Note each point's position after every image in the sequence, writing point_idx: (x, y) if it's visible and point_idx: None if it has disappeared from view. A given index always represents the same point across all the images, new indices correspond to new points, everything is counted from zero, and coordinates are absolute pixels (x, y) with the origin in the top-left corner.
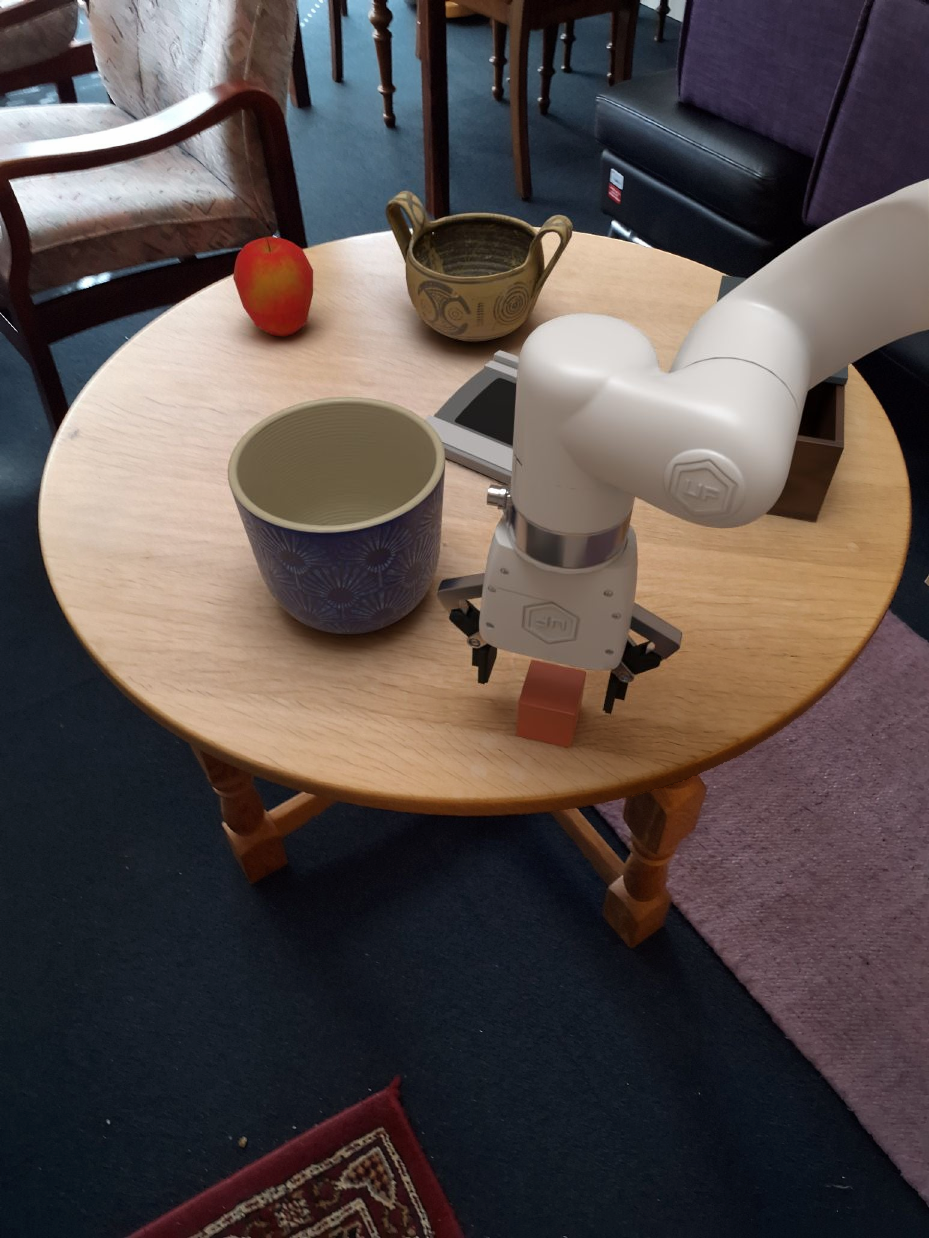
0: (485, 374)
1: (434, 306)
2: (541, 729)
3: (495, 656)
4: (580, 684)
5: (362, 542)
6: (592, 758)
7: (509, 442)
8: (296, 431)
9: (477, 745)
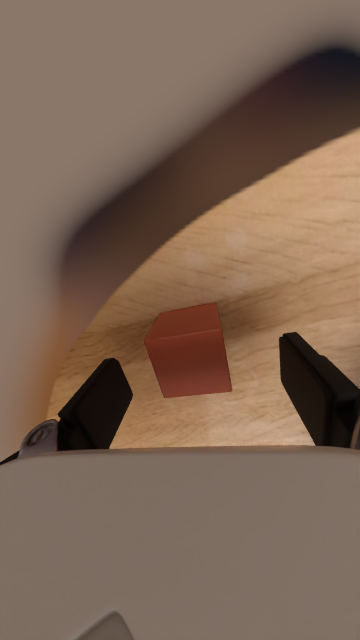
0: None
1: None
2: (188, 315)
3: (284, 381)
4: (160, 381)
5: None
6: (136, 312)
7: None
8: None
9: (250, 270)
